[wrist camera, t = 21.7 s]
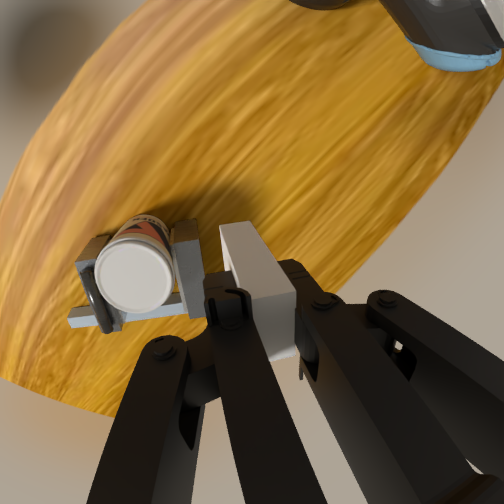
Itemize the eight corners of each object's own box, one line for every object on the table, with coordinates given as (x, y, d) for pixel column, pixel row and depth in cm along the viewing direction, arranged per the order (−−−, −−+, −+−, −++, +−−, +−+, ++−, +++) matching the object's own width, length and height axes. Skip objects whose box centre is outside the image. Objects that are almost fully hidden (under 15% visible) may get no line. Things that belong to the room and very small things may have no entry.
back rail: (71, 308, 41) (66, 318, 39) (207, 288, 45) (208, 298, 43) (76, 317, 42) (71, 328, 40) (209, 298, 46) (210, 309, 44)
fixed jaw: (170, 222, 40) (168, 244, 33) (195, 218, 40) (198, 239, 33) (184, 289, 45) (185, 319, 38) (206, 285, 45) (211, 315, 38)
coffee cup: (187, 224, 41) (188, 261, 30) (161, 277, 43) (157, 326, 32) (128, 198, 37) (107, 226, 26) (106, 254, 39) (84, 297, 29)
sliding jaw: (91, 238, 37) (70, 268, 29) (113, 233, 38) (96, 263, 30) (112, 301, 42) (100, 340, 34) (132, 298, 43) (123, 337, 34)
